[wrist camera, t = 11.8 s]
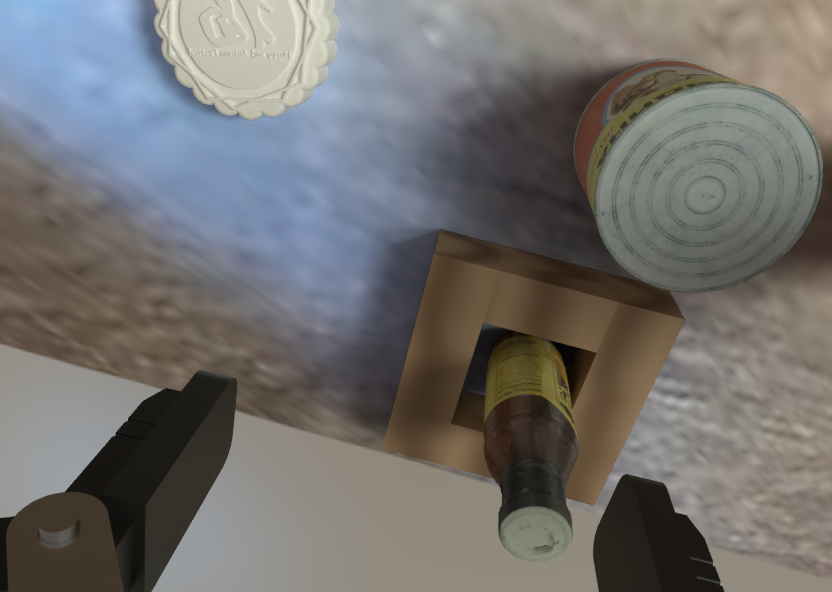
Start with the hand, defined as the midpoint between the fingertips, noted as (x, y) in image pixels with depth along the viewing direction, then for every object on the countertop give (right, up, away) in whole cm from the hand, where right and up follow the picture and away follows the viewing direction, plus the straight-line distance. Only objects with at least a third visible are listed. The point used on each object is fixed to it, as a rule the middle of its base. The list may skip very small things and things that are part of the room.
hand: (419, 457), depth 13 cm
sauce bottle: (+9, -2, +40) cm, 41 cm away
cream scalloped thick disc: (-11, +22, +31) cm, 40 cm away
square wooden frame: (+8, -2, +40) cm, 40 cm away
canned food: (+17, +14, +31) cm, 38 cm away
